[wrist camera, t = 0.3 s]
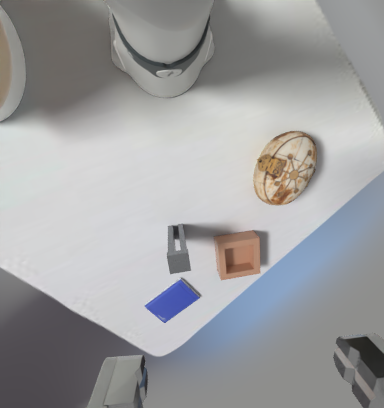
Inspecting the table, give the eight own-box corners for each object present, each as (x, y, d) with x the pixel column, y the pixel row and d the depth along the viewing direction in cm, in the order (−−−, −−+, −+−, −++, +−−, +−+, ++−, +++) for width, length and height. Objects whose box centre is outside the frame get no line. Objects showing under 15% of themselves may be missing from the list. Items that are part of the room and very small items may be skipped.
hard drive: (164, 323, 56) (200, 298, 55) (144, 307, 54) (180, 280, 52) (164, 319, 58) (199, 294, 56) (145, 302, 55) (180, 276, 54)
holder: (214, 236, 51) (217, 244, 47) (252, 230, 51) (259, 237, 47) (217, 270, 54) (221, 280, 50) (253, 263, 54) (260, 273, 51)
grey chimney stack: (167, 225, 48) (166, 256, 36) (183, 223, 49) (188, 252, 36) (169, 239, 49) (170, 274, 37) (185, 237, 50) (190, 270, 37)
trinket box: (300, 126, 45) (327, 124, 37) (305, 190, 50) (329, 199, 42) (242, 142, 44) (257, 143, 37) (253, 205, 49) (268, 217, 42)
